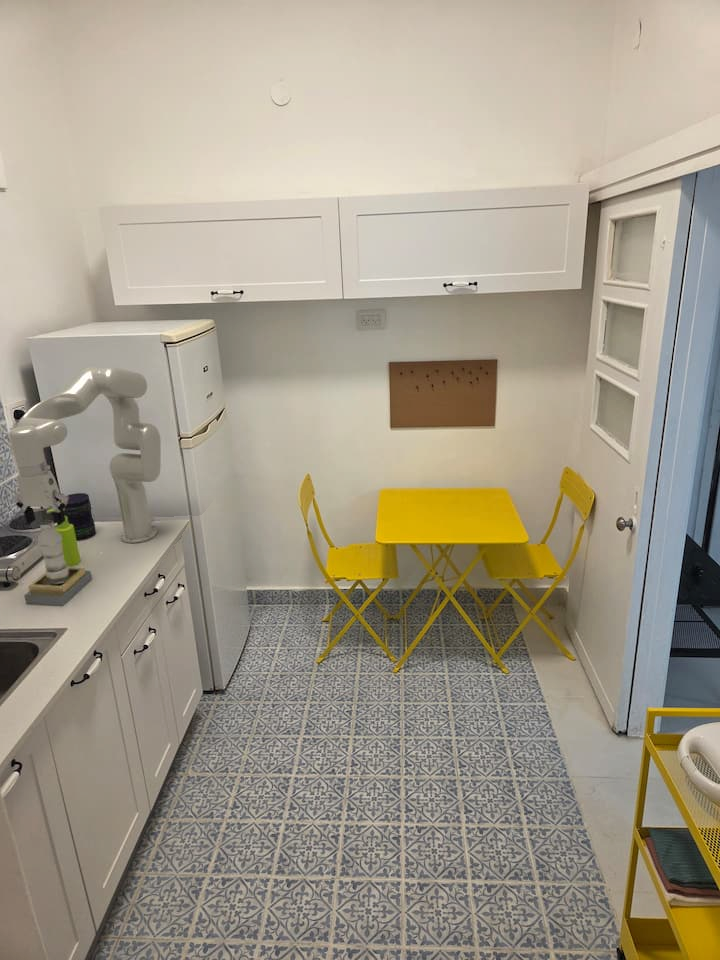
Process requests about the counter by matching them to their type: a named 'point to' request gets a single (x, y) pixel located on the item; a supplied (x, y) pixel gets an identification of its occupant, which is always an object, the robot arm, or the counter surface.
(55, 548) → the plastic bottle
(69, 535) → the soap dispenser
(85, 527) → the storage jar
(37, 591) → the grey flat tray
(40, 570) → the counter surface
